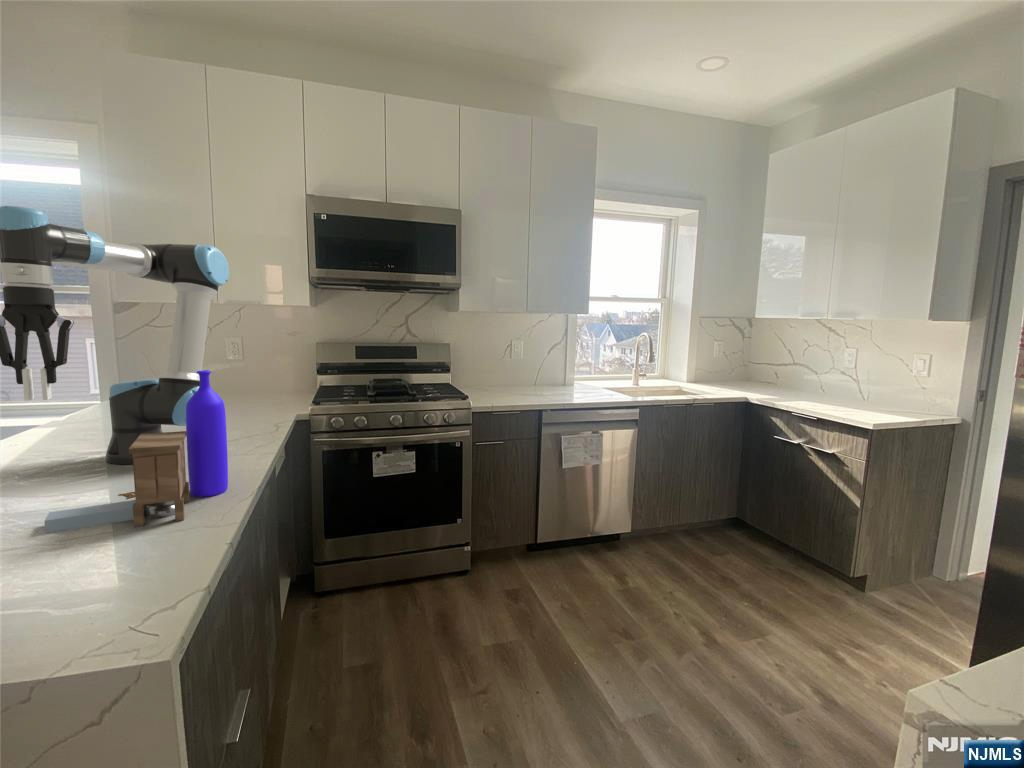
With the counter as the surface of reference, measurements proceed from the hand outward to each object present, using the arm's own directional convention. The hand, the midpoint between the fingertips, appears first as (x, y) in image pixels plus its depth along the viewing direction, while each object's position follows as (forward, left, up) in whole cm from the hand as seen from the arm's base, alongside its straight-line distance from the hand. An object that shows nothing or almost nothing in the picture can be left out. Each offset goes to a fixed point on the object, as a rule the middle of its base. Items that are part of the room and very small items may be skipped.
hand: (38, 399), depth 104 cm
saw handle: (-7, +23, -25) cm, 35 cm away
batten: (+11, +10, -25) cm, 29 cm away
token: (+11, +22, -25) cm, 35 cm away
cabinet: (+11, +22, -24) cm, 35 cm away
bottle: (0, +30, -25) cm, 39 cm away
